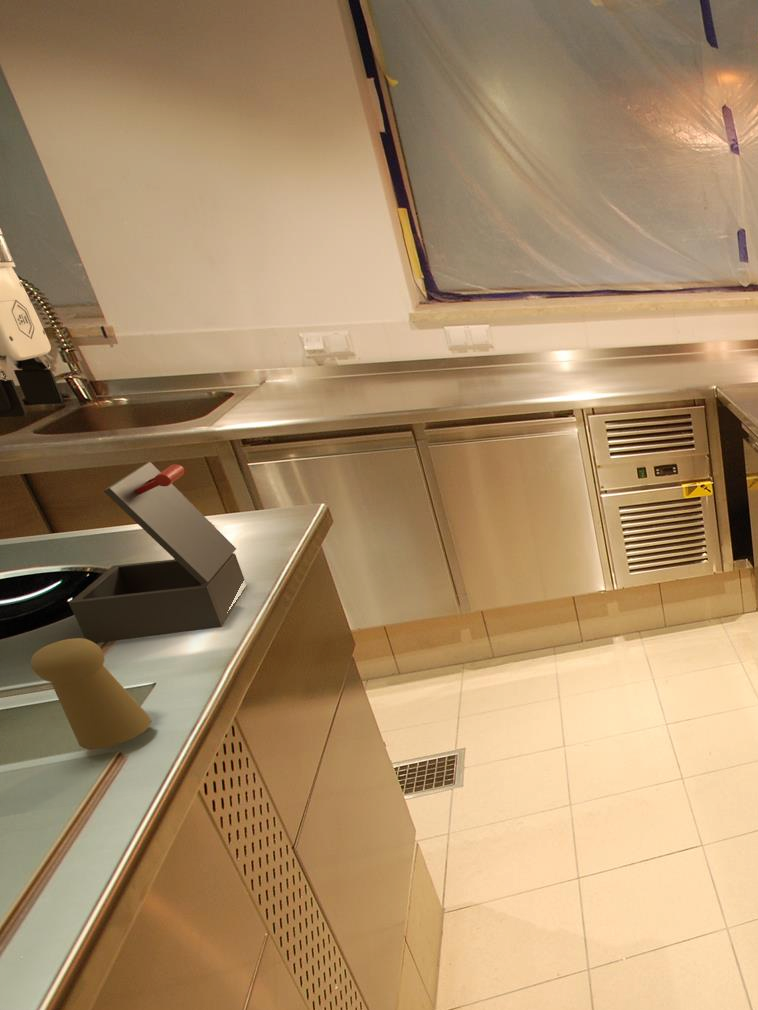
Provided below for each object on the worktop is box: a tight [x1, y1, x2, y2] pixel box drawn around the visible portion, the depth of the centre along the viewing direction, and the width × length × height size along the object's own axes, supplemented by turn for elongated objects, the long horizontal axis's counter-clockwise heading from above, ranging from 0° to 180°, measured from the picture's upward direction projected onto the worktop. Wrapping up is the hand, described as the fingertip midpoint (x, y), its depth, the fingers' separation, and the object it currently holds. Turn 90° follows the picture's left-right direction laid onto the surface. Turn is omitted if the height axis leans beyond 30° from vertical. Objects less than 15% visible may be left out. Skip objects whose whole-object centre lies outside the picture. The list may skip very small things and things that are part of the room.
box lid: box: [103, 461, 237, 585], centre depth 113 cm, size 15×15×5 cm
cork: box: [30, 637, 153, 750], centre depth 88 cm, size 6×6×11 cm
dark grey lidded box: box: [68, 552, 246, 644], centre depth 116 cm, size 14×15×7 cm
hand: (27, 409), depth 100 cm, fingers open, 9 cm apart
